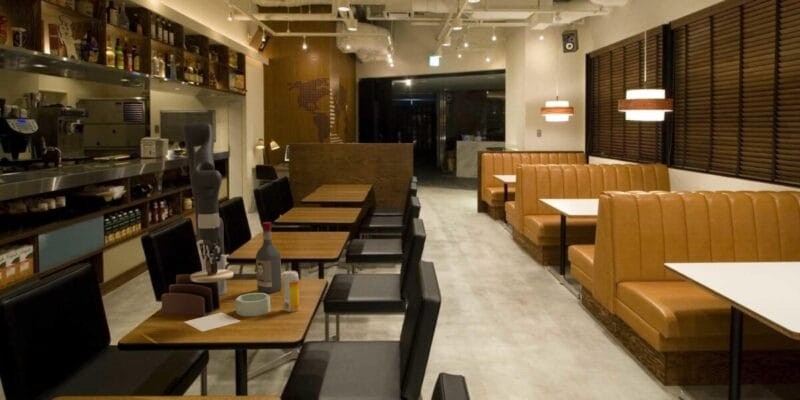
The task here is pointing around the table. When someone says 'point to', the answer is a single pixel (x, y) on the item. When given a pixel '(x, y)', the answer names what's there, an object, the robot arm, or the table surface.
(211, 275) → the lid
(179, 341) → the table surface
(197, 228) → the robot arm
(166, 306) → the letter holder
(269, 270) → the liquor
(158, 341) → the table surface
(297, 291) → the beer can
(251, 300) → the bowl
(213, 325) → the mat
